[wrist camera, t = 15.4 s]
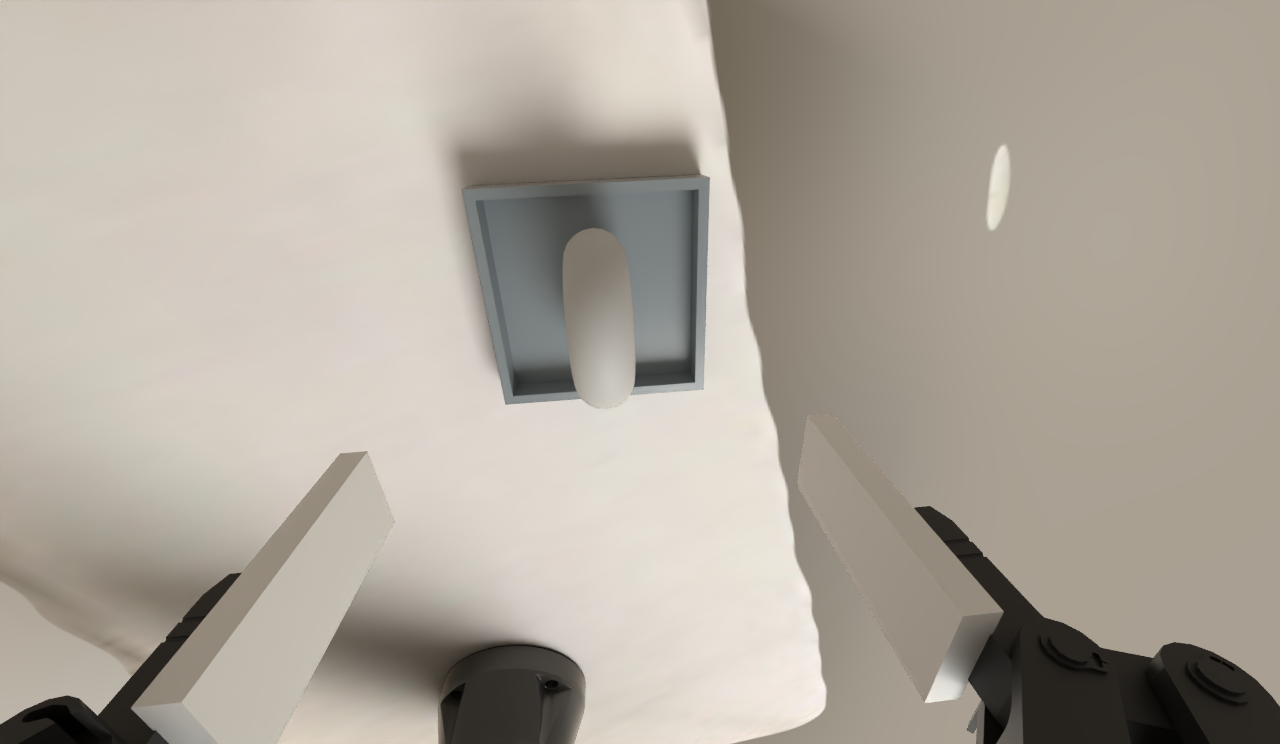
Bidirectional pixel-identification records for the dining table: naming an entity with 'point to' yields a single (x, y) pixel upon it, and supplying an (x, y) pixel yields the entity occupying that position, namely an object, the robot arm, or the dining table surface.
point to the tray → (533, 276)
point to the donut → (599, 318)
